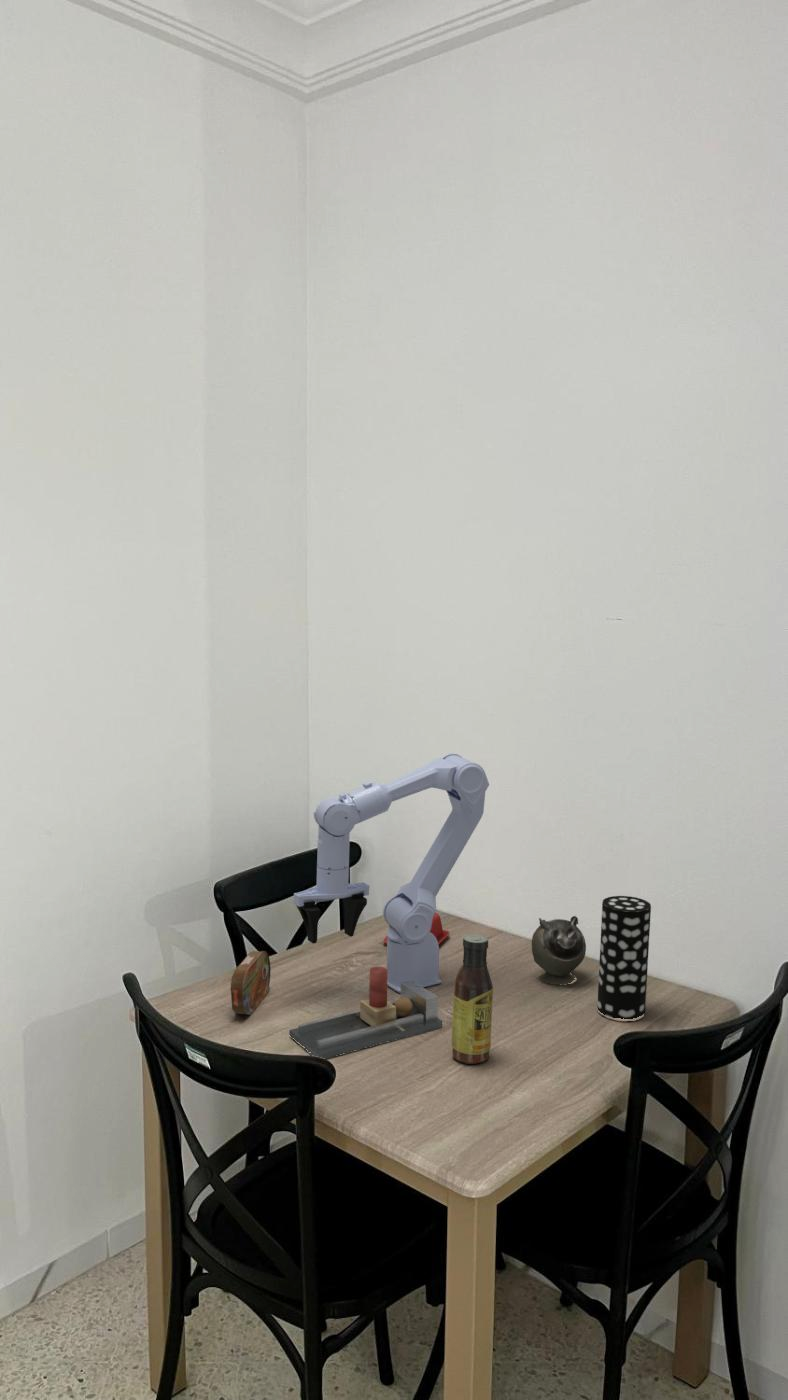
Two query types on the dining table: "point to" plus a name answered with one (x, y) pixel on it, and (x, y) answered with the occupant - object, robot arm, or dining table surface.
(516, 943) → the dining table surface
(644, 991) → the white-spotted black cylinder
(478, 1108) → the dining table surface
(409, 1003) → the nut
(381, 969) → the press slider
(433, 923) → the butter dish
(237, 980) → the tin
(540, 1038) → the dining table surface
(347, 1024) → the base
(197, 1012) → the dining table surface
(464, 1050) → the sauce bottle
